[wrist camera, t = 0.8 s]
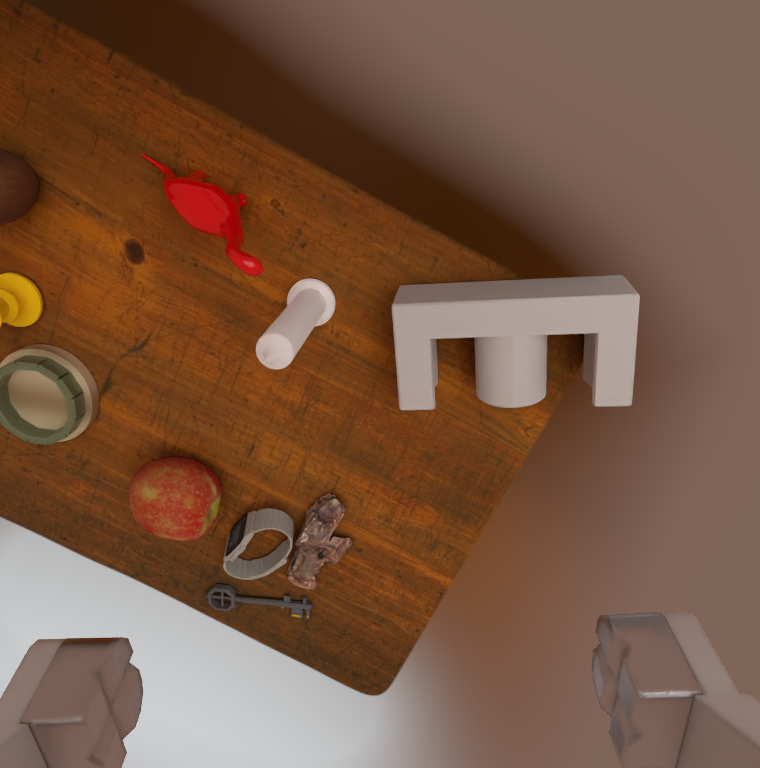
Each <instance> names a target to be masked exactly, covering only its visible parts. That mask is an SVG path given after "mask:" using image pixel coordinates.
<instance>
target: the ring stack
mask: <svg viewBox="0 0 760 768" xmlns="http://www.w3.org/2000/svg"><path fill="white" fill-rule="evenodd" d="M98 409H99V392H98V388H97V385H96V382H95V380H94V378H93V376H92V374H91V373H90V371H89V370H88V369H87V367H86V366H85V365H84V364H83V363H82V362H81V361H80V360H79V359H78V358H77V357H75V356H74V355H72V354H71V353H69V352H67V351H66V350H64V349H61V348H59V347H56V346H52V345H47V344H32V345H28V346H25V347H23V348H20V349H19V350H17V351H15V352H13V353H11V354H10V355H8V356H7V357H6V358H5V359H4V360H3V361H2V362H1V363H0V423H1V424H2V425H3V427H4V428H5V429H6V428H8V429H7V431H9V432H10V433H12V434H14V435H15V436H17V437H19V438H20V439H22V440H23V441H25V442H26V441H27V440H28V443H36V444H44V445H48V444H50V445H51V444H53V443H55V442H62V441H67V440H70V439H73V438H75V437H77V436H78V435H79V434H81V433H82V432H83V431H84V430H85V429H87V428H88V427H89V426H90V425H91V424H92V422H93V421H94V420H95V418H96V415H97V413H98Z"/></svg>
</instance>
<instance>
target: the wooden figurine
mask: <svg viewBox="0 0 760 768" xmlns="http://www.w3.org/2000/svg"><path fill="white" fill-rule="evenodd" d="M38 186H39V182H38V180H37V177H36V175H35V172H34V171H33V170H32V169H31V167H30V166H29V165H28V164H27V163H26V162H25V161H23V160H22V159H21V158H20V157H18V156H16V155H14V154H11V153H9V152H7V151H5V150H2V149H0V225H2V224H5V223H9V222H12V221H15V220H17V219H19V218H20V217H22V216H23V215H24V214H25V213H26V212H27V211H28V210H29V209H30V208H31V207H32V206H33V205H34V203H35V201H36V198H37V195H38Z"/></svg>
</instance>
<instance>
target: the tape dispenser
mask: <svg viewBox="0 0 760 768" xmlns="http://www.w3.org/2000/svg"><path fill="white" fill-rule="evenodd" d="M639 301H640V296H639V294H638V293H637V292H636V290H635V289H634V288H633V287H632V286H631V284H630V283H629V282H628V281H627V280H626V278H625V277H624V276H623V275H609V276H588V277H568V278H546V279H524V280H503V281H481V282H460V283H439V284H418V285H400V286H399V288H398V290H397V293H396V296H395V298H394V301H393V304H392V318H393V331H394V344H395V357H396V370H397V383H398V396H399V408H400V410H433V409H434V408H435V389H434V388H435V386H436V385H437V384H438V368H437V348H436V339H442V338H470V337H474V338H475V375H476V394H477V397H478V398H479V399H480V400H482V401H483V402H485V403H487V404H489V405H492V406H497V407H503V408H519V407H526V406H530V405H533V404H536V403H538V402H539V401H541V400H542V399H543V398H544V397H545V396H546V380H547V335H557V334H585V335H584V359H583V380H584V381H586V383H588V384H589V385H590V386H591V388H592V390H593V400H592V404H593V405H594V406H596V407H600V406H630V405H631V404H632V395H633V380H634V368H635V355H636V341H637V328H638V315H639Z"/></svg>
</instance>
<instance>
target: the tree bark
mask: <svg viewBox="0 0 760 768" xmlns="http://www.w3.org/2000/svg"><path fill="white" fill-rule="evenodd" d="M335 498H336V497H335V495H334V494H333V495H332V494H330V493H328V494H326V496H323V497H321V498H320V499H316V501H315V504H314V505H313V506H311V507H309V508H308V510H307V511H306V517H305V519H304V523H303V526H302V529H301V532H300V535H299V537H298V539H297V540H296V542H295V546H297V548H296V550H295V553H294V555H293V557H292V561H291V564H290V566H289V568H288V571H287V572H288V575H287V578H288V579H289V580H290V581H291V582H292V583H293V584H294V585H296V586H299V587H302V588H305V589H315V587H316V585H317V584H316V582H315V579H316V578H315V576H316V574H317V573H318V572H319V571H320V570H319V569H320V568H321V567H322V565H323V564H334V565H335V564H336V565H337V564H338V563H339V561H340V560H339V559H340V558H342V556H343V555H344V554H345V552H346V548H347V549H348V548H350V547H351V546H352V542H351V540H350V538H338V537H333V538H332V539H331V541H329V540H330V537H331V535H332V533H333V531H334V529H335V528H336V527H337V525H338V524H339V522H340V521H341V519H342V518H343V515H344V513H343V512H344V510H345V509H344V506H342V504H340V503H339V501H338V500H336V499H335Z"/></svg>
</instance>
